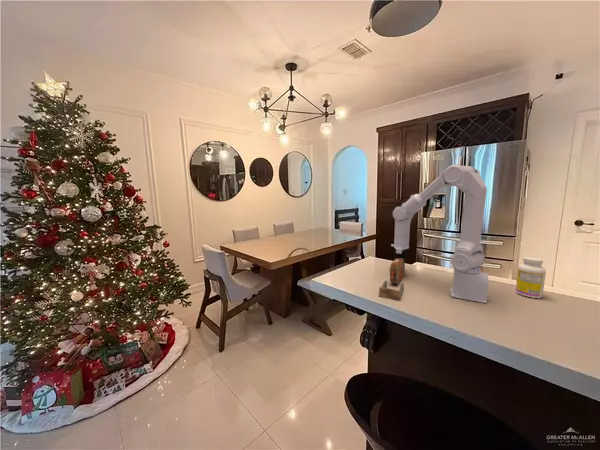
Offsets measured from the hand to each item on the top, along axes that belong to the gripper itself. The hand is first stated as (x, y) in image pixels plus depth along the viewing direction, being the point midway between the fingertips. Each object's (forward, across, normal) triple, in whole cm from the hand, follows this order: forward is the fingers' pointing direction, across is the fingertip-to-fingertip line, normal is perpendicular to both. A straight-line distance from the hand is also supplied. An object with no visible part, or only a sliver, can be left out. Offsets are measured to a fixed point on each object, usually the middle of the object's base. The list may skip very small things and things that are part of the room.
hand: (400, 266), depth 101 cm
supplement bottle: (+4, +1, +41) cm, 41 cm away
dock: (+3, +21, 0) cm, 22 cm away
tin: (+4, +8, 0) cm, 9 cm away
